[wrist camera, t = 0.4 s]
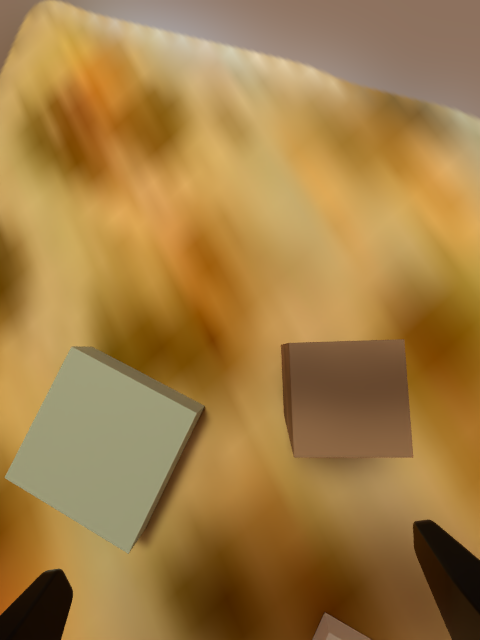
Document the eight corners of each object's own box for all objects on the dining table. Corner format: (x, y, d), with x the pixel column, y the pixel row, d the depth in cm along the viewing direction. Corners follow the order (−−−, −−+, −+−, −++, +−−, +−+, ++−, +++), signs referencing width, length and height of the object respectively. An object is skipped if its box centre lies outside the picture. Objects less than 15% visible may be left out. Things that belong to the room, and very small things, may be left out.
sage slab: (146, 527, 23) (128, 553, 20) (36, 462, 24) (4, 477, 21) (205, 404, 24) (196, 413, 21) (95, 346, 25) (71, 346, 22)
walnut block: (354, 413, 22) (413, 457, 13) (283, 414, 23) (294, 457, 14) (350, 342, 23) (404, 339, 14) (280, 344, 23) (289, 342, 14)
